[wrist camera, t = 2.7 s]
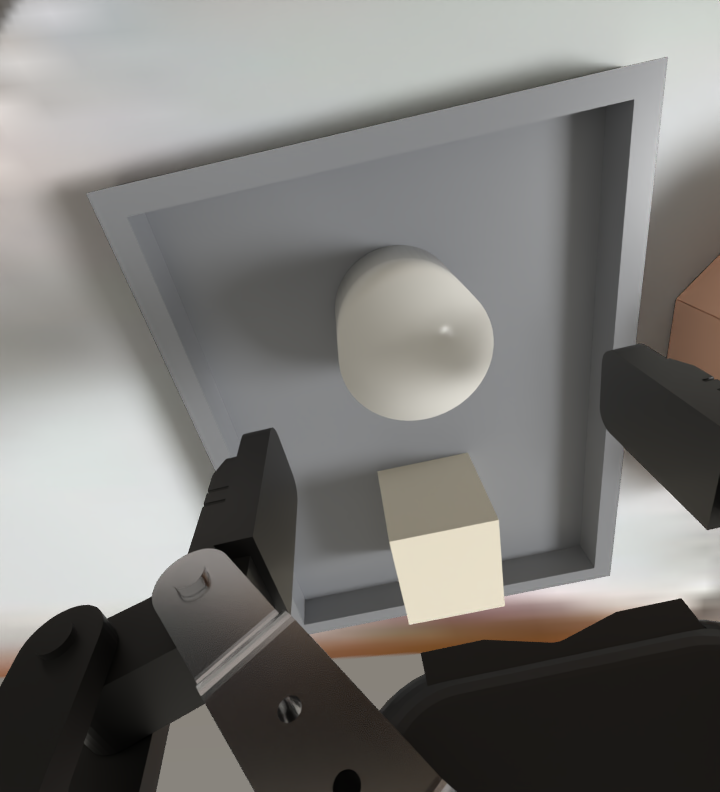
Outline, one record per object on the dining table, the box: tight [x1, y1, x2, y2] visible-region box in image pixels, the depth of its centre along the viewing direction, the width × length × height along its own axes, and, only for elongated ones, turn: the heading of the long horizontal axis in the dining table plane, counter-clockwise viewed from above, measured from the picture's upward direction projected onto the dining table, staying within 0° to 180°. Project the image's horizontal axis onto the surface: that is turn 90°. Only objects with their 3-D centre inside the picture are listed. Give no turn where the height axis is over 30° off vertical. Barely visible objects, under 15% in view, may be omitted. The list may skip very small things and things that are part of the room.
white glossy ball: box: [335, 245, 494, 421], centre depth 15 cm, size 4×4×4 cm
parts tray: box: [86, 57, 668, 634], centre depth 18 cm, size 21×16×2 cm
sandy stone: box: [377, 453, 505, 625], centre depth 19 cm, size 5×4×4 cm
